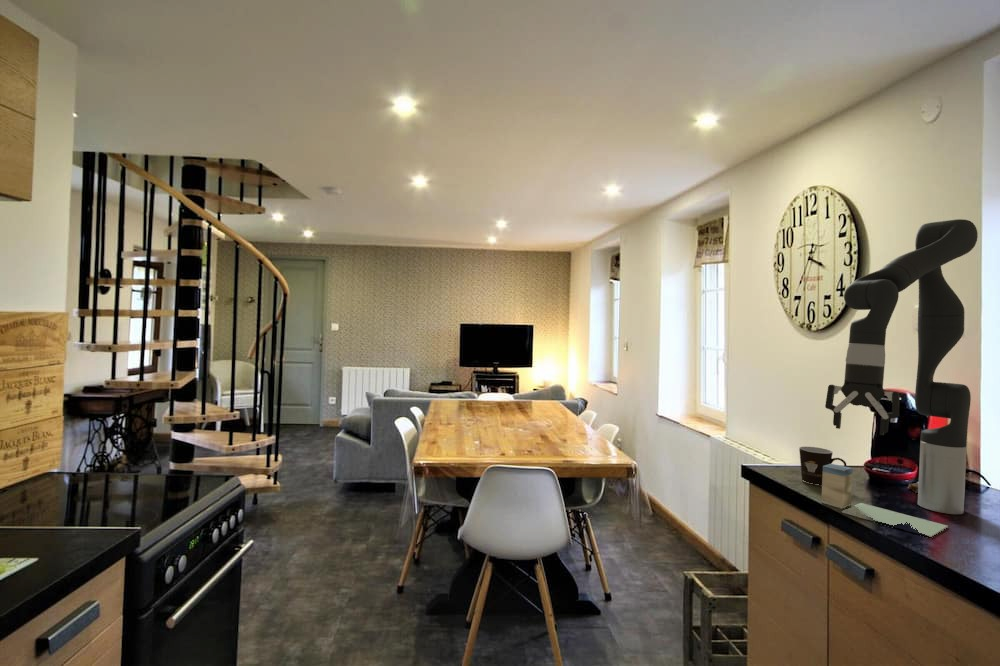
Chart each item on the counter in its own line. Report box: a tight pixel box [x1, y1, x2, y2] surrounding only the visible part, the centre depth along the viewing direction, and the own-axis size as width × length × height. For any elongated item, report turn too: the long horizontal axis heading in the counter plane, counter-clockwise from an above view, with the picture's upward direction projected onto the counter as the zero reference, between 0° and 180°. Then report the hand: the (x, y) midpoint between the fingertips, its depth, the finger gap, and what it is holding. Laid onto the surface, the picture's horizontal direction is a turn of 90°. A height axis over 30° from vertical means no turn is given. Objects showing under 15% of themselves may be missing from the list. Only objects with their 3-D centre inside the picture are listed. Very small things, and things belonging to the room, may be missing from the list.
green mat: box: [850, 502, 949, 538], centre depth 125 cm, size 12×18×1 cm, turn 35°
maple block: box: [820, 463, 853, 507], centre depth 135 cm, size 5×5×10 cm
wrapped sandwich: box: [907, 481, 919, 493], centre depth 147 cm, size 7×12×4 cm, turn 50°
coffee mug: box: [798, 446, 848, 485], centre depth 153 cm, size 12×9×10 cm
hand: (859, 431), depth 122 cm, fingers open, 8 cm apart
